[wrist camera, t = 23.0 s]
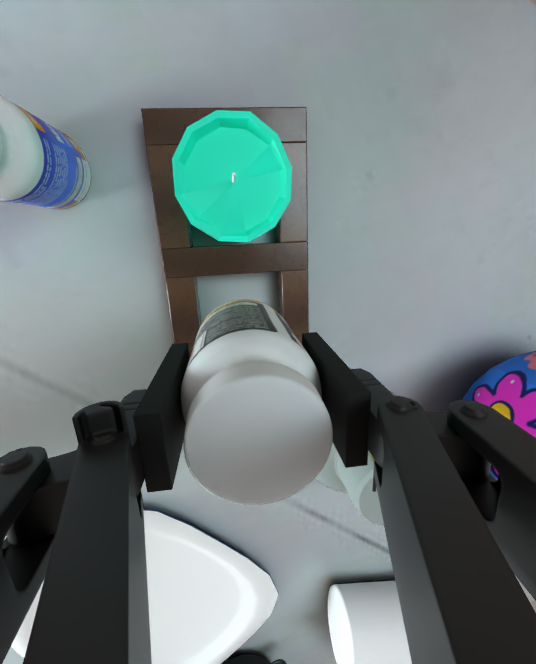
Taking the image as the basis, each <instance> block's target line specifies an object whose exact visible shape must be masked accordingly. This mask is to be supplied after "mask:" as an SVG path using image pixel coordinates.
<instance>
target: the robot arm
mask: <svg viewBox="0 0 536 664" xmlns="http://www.w3.org/2000/svg"><path fill="white" fill-rule="evenodd" d="M302 346H303V347H304V349H305V350H306V351H307V353H308V354H309V355H310V357H311V359H312V360H313V362H314V364H315V366H316V368H317V370H318V373H319V377H320V382H321V389H322V401H323V403H324V404H325V406H326V409H327V411H328V413H329V416H330V419H331V423H332V430H333V439H332V442H333V444H334V446H335V448H336V450H337V452H338V454H339V456H340V458H341V460H342V462H343V464H344V466H345V468H349V467H357V466H365V465H367V464H368V451H369V452H370V454H371V455H372V457H373V458H374V473H373V489H372V491H373V492H376V487H377V492H378V497H379V502H380V507H381V512H382V517H383V522H384V527H385V532H386V537H387V542H388V547H389V552H390V557H391V562H392V566H393V571H394V576H395V581H396V586H397V591H398V596H399V601H400V606H401V611H402V616H403V621H404V626H405V631H406V636H407V641H408V646H409V651H410V656H411V661H412V664H536V613H535V611H534V609H533V607H532V606H531V604H530V602H529V600H528V598H527V597H526V595H525V593H524V591H523V589H522V587H521V586H520V584H519V582H518V580H517V578H518V579H519V580H520V582H521V583H522V584H523V585H524V587H525V588H526V589H527V590H528V592H529V593H530V594H531V595H532V597H533V598H534V599H535V600H536V438H535V437H534V436H532V435H531V434H529V433H528V432H527V431H525V430H524V429H522V428H521V427H519V426H518V425H516V424H515V423H514V422H512V421H511V420H509V419H508V418H506V417H505V416H503V415H502V414H501V413H499V412H498V411H496V410H495V409H493V408H491V407H489V406H487V405H485V404H482V403H480V402H478V401H472V400H457V401H453V402H451V403H450V404H449V408H448V414H444V413H431V412H424V411H423V409H422V407H421V406H420V405H419V404H418V403H417V402H415V401H413V400H412V399H409V398H405V397H401V396H394V395H393V394H392V393H391V392H390V391H389V390H388V389H387V388H385V387H384V386H383V385H381V383H380V382H379V381H378V380H376V378H375V377H374V376H373V375H372V374H371V373H369V372H367V371H365V370H363V369H361V368H360V369H350V368H349V367H348V366H347V365H346V364H345V363H344V362H343V361H342V360H341V359H340V358H339V356H338V355H337V354H336V353H335V352H334V351H333V350H332V349H331V348H330V347H329V346H328V344H327V343H326V342H325V341H324V340H323V339H322V338H321V337H320V336H319V335H318V333H317V332H314V333H302ZM189 359H190V353H189V345H188V343H176V344H172V345H171V347H170V349H169V351H168V353H167V355H166V356H165V358H164V360H163V362H162V364H161V365H160V367H159V369H158V371H157V373H156V375H155V376H154V378H153V380H152V382H151V384H150V385H149V387H148V389H143V390H134V391H132V392H131V393H129V394H128V395H127V396H125V397H124V398H123V400H122V401H121V403H120V402H118V401H104V402H99V403H95V404H92V405H89V406H87V407H85V408H83V409H81V410H80V411H78V412H77V413H75V415H74V416H73V418H72V420H73V424H74V428H75V432H76V435H77V439H78V443H79V444H78V448H77V450H75V451H72V452H70V453H66V454H63V455H59V456H56V457H52V458H49V459H48V457H47V453H46V451H45V449H44V448H42V447H27V448H20V449H17V450H15V451H12V452H9V453H7V454H6V455H4V456H3V457H1V458H0V664H2V663H3V661H4V659H5V657H6V655H7V653H8V651H9V649H10V647H11V645H12V643H13V641H14V639H15V637H16V635H17V633H18V631H19V629H20V627H21V625H22V623H23V621H24V619H25V617H26V615H27V613H28V611H29V609H30V607H31V605H32V603H33V601H34V599H35V597H36V595H37V593H38V591H39V589H40V587H41V585H42V583H43V581H44V583H43V587H42V590H41V594H40V598H39V602H38V606H37V610H36V614H35V618H34V622H33V626H32V630H31V634H30V638H29V642H28V646H27V650H26V654H25V658H24V662H23V664H152V660H151V641H150V622H149V603H148V585H147V566H146V547H145V529H144V510H143V499H142V494H141V487H142V484H143V482H144V479H145V482H146V487H147V492H155V491H163V490H171V489H172V488H173V483H174V479H175V475H176V470H177V466H178V462H179V457H180V453H181V449H182V444H183V440H184V434H185V427H186V422H185V420H184V417H183V413H182V408H181V386H182V381H183V378H184V375H185V372H186V369H187V366H188V362H189ZM491 465H492V466H493V467H494V468H495V469H496V470H497V472H498V474H499V477H498V479H497V480H496V479H495V478H494V477H493V476H492V475H491V474H490V467H491ZM5 536H7V537H6V539H5V540H4V538H5ZM514 574H515V575H516V577H517V578H516V577H515V575H514Z"/></svg>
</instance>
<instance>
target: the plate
mask: <svg viewBox="0 0 536 664" xmlns="http://www.w3.org/2000/svg"><path fill="white" fill-rule="evenodd" d="M143 510H144V529H145V547H146V566H147V585H148V603H149V622H150V641H151V660H152V664H221V663H222V662H223V661H225V660H226V659H227V658H228V657H229V656H230V655H231V654H233V653H234V652H235V651H236V650H237V649H238V648H239V647H240V646H241V645H242V644H243V643H245V642H246V641H247V640H248V639H249V638H250V637H251V636H252V635H253V634H254V633H255V632H256V631H257V630H258V629H259V628H260V626H261V625H262V624H263V623H264V622H265V621H266V620H267V619H268V617H269V616H270V615H271V614H272V611H273V608H274V605H275V602H276V600H277V597H278V591H277V589H276V587H275V585H274V583H273V581H272V579H271V577H270V575H269V573H267V572H266V571H265V570H263V569H262V568H261V567H260V566H258V565H257V564H256V563H254V562H253V561H252V560H251V559H249V558H248V557H246V556H245V555H243V554H241V553H240V552H238V551H236V550H235V549H233V548H231V547H230V546H228V545H226V544H225V543H223V542H221V541H220V540H218V539H216V538H214V537H212V536H211V535H209V534H207V533H205V532H203V531H202V530H200V529H198V528H196V527H195V526H193V525H191V524H189V523H186V522H184V521H182V520H179V519H177V518H175V517H172V516H170V515H168V514H165V513H163V512H161V511H158V510H151V509H143ZM43 583H44V581H43ZM43 583H42V585H41V587H40V589H39V591H38V593H37V595H36V597H35V599H34V601H33V603H32V605H31V607H30V609H29V611H28V613H27V615H26V617H25V619H24V621H23V623H22V625H21V627H20V629H19V631H18V633H17V635H16V637H15V639H14V641H13V643H12V645H11V647H12V648H13V649H14V650H15V651H16V652H17V653H18V654H19V655H20V656H22V657H24V658H25V654H26V650H27V646H28V642H29V638H30V634H31V630H32V626H33V622H34V618H35V614H36V610H37V606H38V602H39V598H40V594H41V590H42V587H43Z"/></svg>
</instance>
